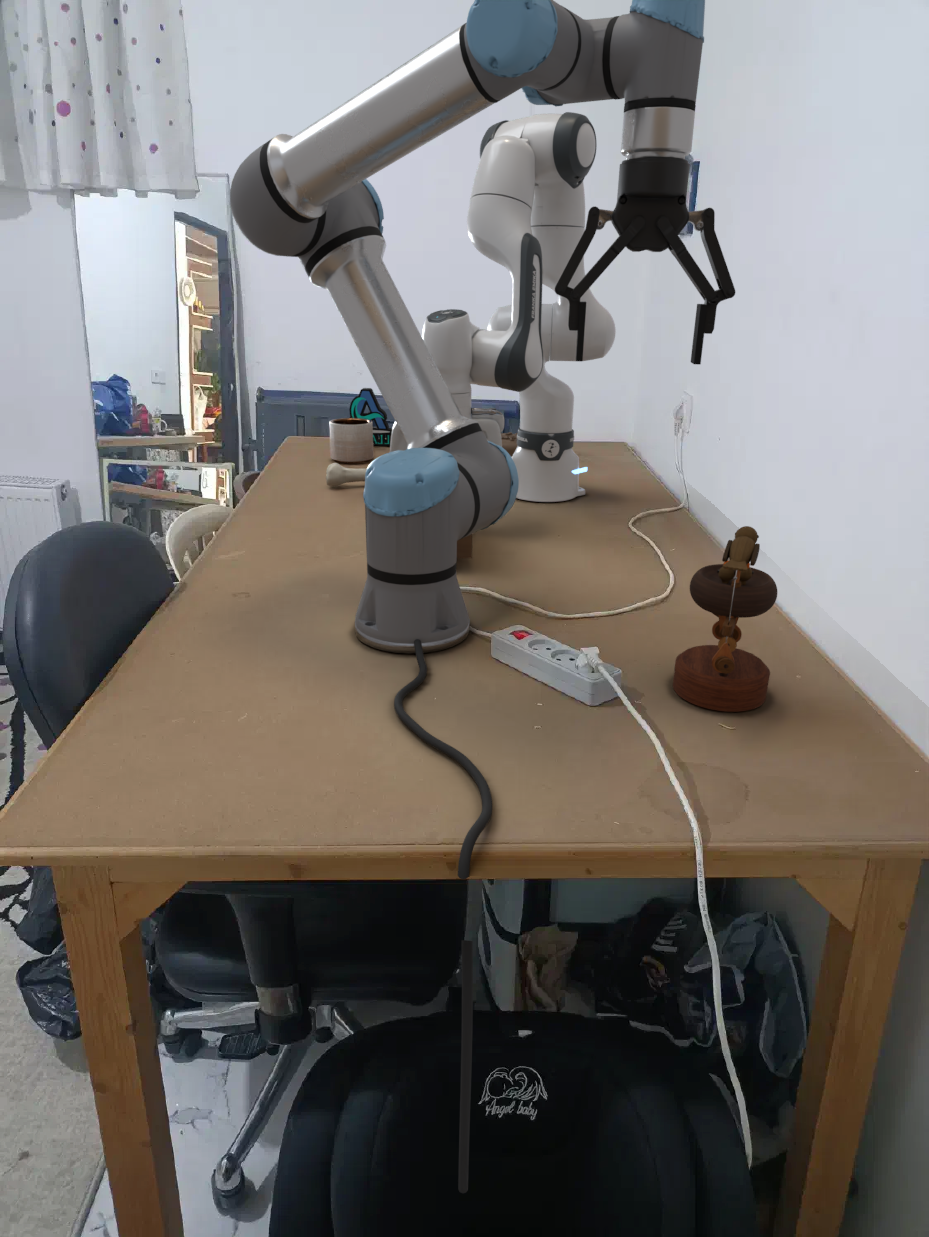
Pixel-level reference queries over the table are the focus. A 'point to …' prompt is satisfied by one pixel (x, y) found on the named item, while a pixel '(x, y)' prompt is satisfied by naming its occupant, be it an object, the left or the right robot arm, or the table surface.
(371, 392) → the decorative sign
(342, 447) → the planter
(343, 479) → the dog toy
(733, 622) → the music box
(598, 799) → the table surface
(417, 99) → the left robot arm
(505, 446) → the brown flat oval slab
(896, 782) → the table surface
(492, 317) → the right robot arm
